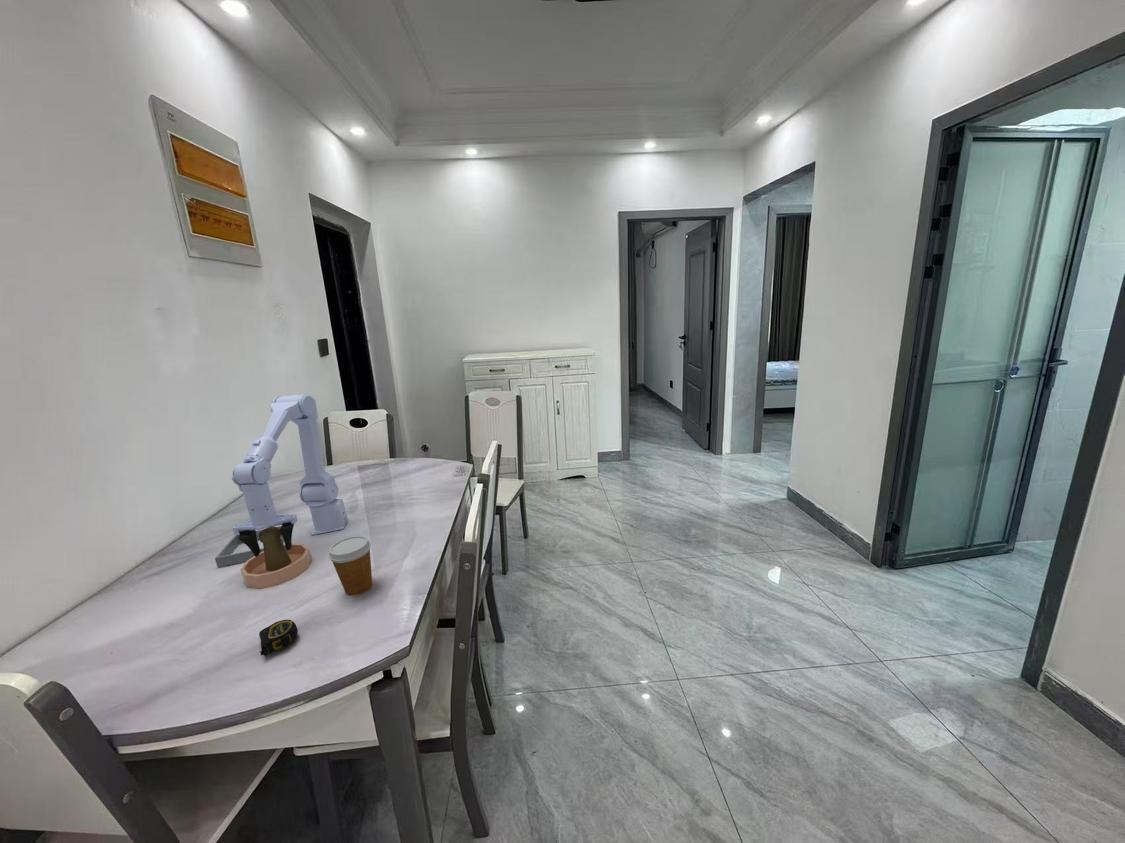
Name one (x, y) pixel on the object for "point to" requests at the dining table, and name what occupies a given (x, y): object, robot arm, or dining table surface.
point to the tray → (228, 558)
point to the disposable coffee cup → (352, 564)
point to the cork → (274, 549)
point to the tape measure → (277, 636)
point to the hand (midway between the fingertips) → (273, 551)
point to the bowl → (261, 578)
